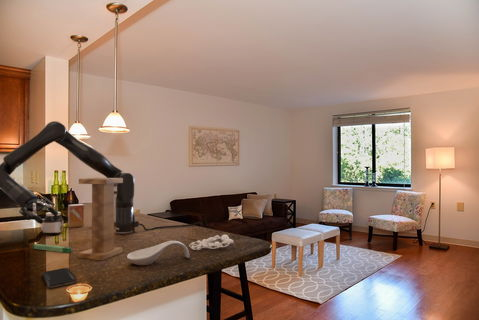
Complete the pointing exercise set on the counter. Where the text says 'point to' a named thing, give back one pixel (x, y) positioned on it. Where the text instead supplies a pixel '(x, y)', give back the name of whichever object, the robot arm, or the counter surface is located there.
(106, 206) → the wooden pedestal stand
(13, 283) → the counter surface
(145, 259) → the spoon rest
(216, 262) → the counter surface
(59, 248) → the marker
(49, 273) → the phone
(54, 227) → the spread jar
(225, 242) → the tangled rod sculpture
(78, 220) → the small box
